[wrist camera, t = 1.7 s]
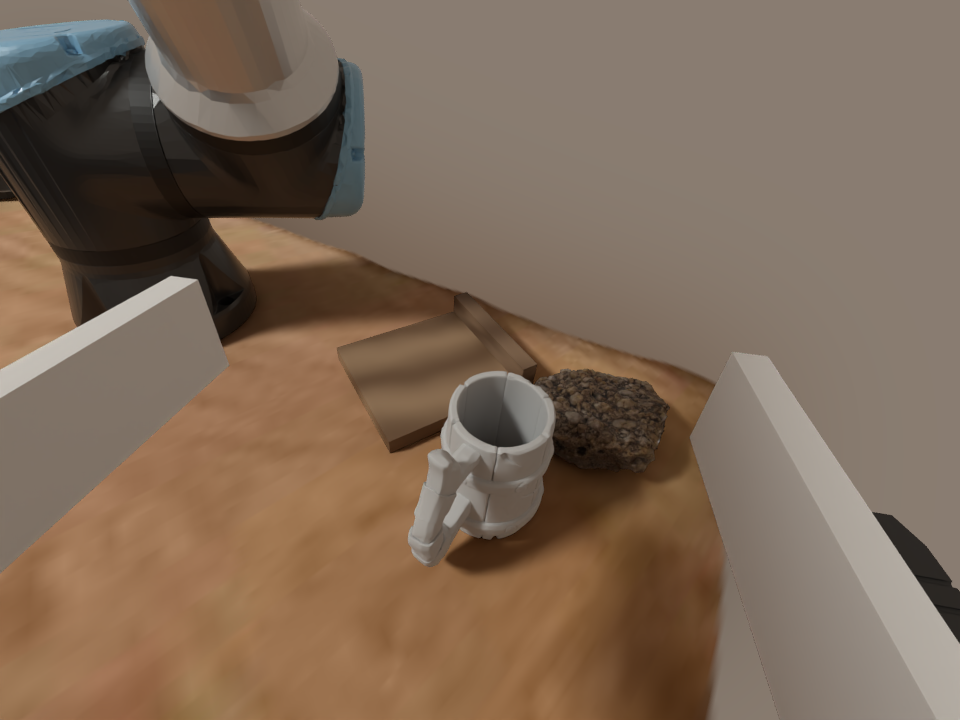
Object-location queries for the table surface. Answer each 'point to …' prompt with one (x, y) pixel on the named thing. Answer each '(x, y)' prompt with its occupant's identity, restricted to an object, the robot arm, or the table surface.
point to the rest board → (428, 369)
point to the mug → (485, 464)
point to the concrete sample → (604, 419)
